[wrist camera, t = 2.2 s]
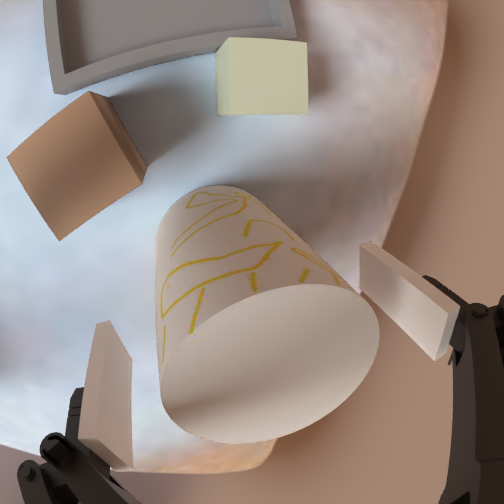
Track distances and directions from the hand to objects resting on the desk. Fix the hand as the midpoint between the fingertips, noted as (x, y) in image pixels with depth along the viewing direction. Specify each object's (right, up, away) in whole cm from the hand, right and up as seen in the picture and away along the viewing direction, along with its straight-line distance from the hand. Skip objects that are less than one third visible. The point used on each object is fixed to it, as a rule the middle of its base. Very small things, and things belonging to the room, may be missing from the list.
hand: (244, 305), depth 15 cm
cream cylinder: (-2, +3, +6) cm, 7 cm away
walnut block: (-9, +8, +1) cm, 12 cm away
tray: (-5, +19, -3) cm, 20 cm away
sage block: (0, +13, +2) cm, 13 cm away
